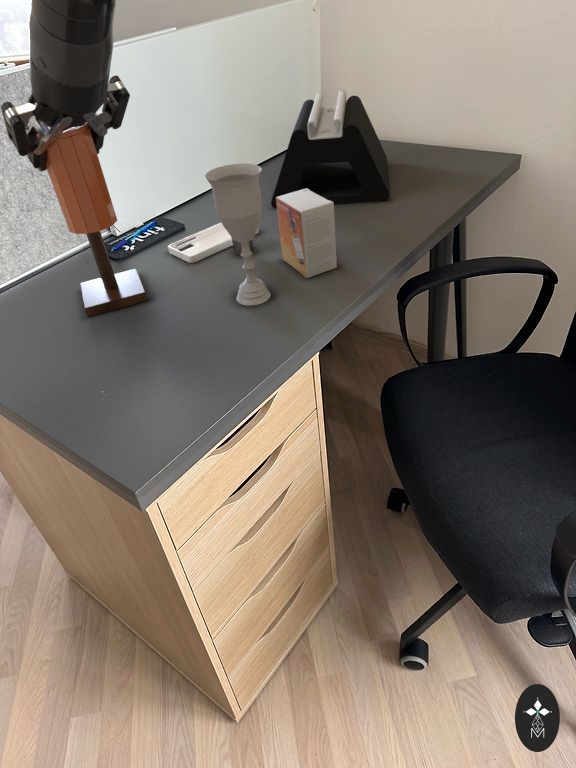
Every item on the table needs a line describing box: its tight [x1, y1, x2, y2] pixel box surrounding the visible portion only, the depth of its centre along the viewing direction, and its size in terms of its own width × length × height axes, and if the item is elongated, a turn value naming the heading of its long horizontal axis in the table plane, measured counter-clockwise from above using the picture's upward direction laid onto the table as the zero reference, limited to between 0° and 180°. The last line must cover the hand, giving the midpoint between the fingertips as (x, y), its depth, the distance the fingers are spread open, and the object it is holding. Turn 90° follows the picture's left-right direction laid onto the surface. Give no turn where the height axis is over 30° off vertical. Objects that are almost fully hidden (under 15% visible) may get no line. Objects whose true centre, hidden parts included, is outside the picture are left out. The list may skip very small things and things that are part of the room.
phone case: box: [167, 221, 260, 264], centre depth 99 cm, size 7×1×15 cm
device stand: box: [270, 89, 391, 209], centre depth 112 cm, size 22×22×15 cm
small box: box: [276, 188, 338, 279], centre depth 86 cm, size 8×6×10 cm
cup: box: [37, 122, 118, 235], centre depth 71 cm, size 6×6×12 cm
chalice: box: [204, 163, 272, 306], centre depth 78 cm, size 7×7×18 cm
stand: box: [79, 231, 148, 318], centre depth 85 cm, size 9×9×12 cm
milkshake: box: [229, 234, 254, 257], centre depth 92 cm, size 4×5×10 cm
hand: (65, 156), depth 70 cm, fingers closed on cup, 6 cm apart
